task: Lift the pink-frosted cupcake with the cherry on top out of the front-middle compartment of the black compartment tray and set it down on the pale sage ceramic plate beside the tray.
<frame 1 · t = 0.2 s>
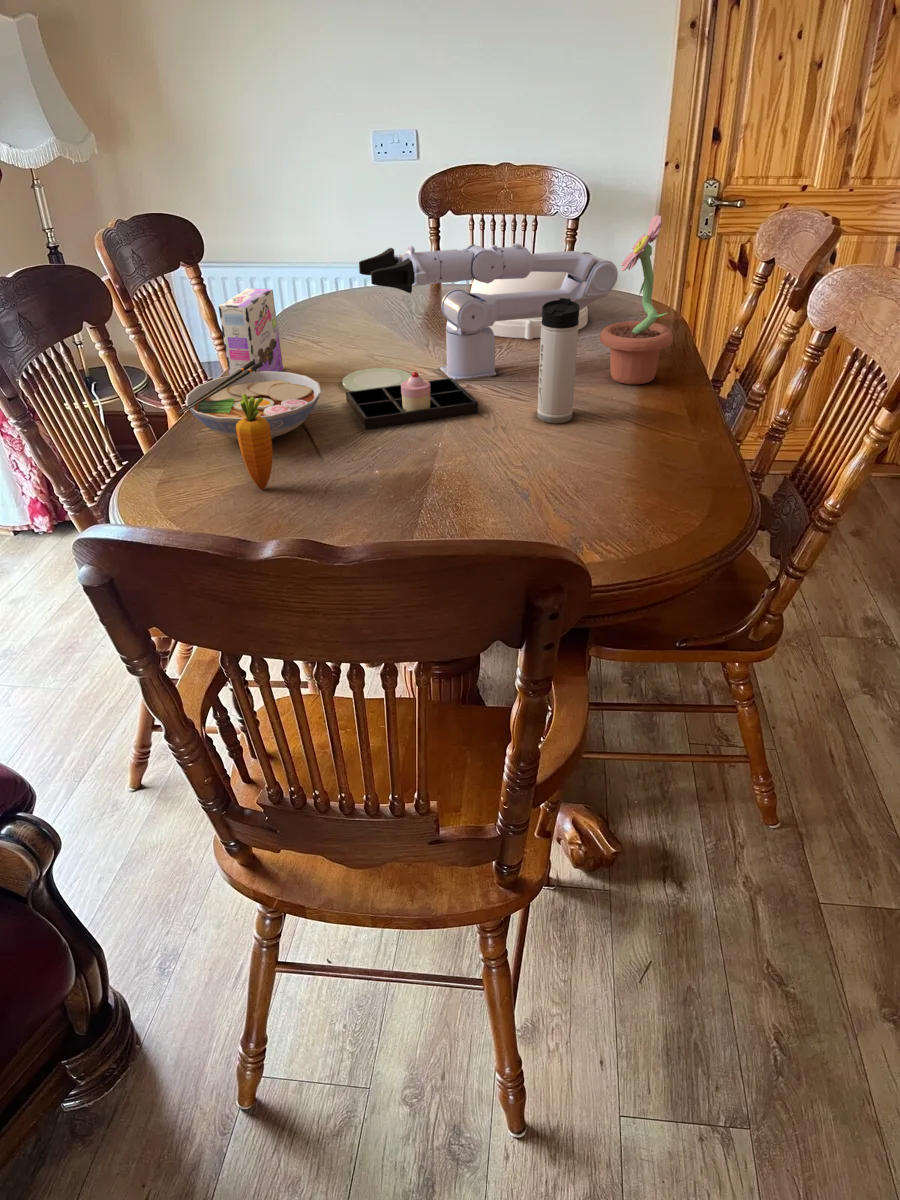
hand: (365, 272, 153), 21 cm above the table, tool horizontal, fingers open, 7 cm apart
decorative flower: (631, 378, 167), on the table
travel mug: (554, 418, 151), on the table
cupcake: (416, 414, 152), resting on black compartment tray
ramen bowl: (260, 434, 147), on the table
plate: (377, 383, 167), on the table
black compartment tray: (411, 409, 155), on the table
dome cover: (524, 320, 202), on the table
carrot: (262, 490, 129), on the table
candy box: (258, 381, 170), on the table
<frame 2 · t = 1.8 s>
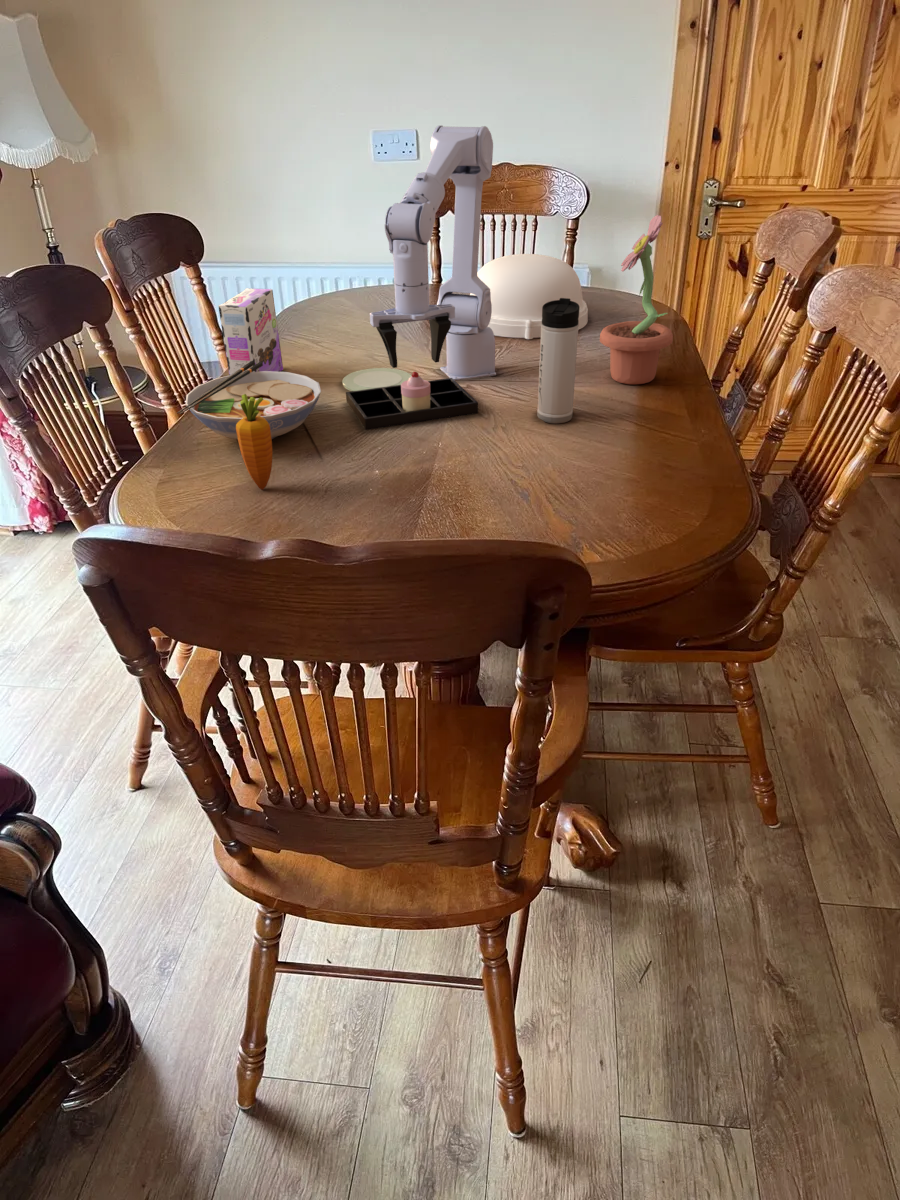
hand: (414, 363, 147), 10 cm above the table, tool pointing down, fingers open, 7 cm apart
nothing on the table moved.
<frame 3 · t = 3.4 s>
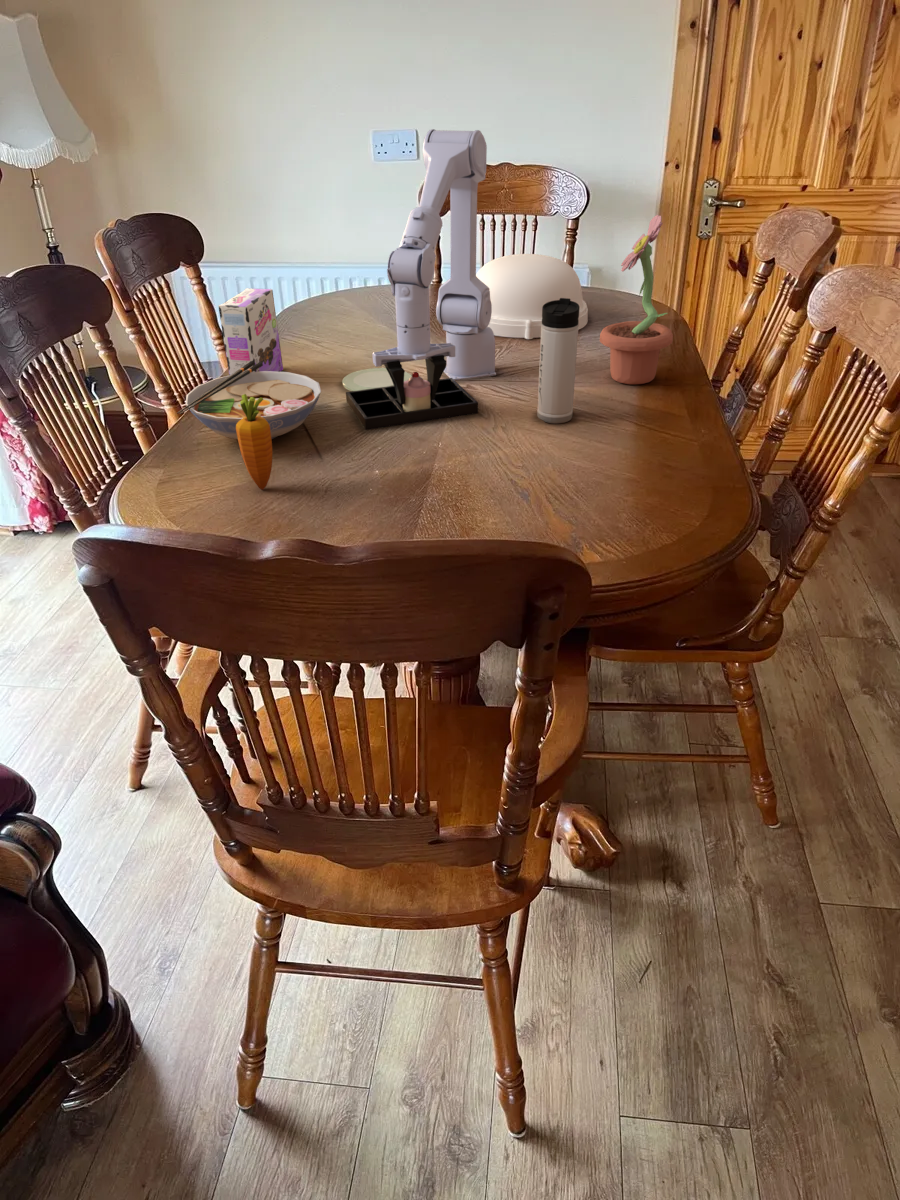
hand: (416, 400, 150), 3 cm above the table, tool pointing down, fingers closed on cupcake, 5 cm apart
cupcake: (416, 414, 152), resting on black compartment tray, touching gripper
everything else where it was.
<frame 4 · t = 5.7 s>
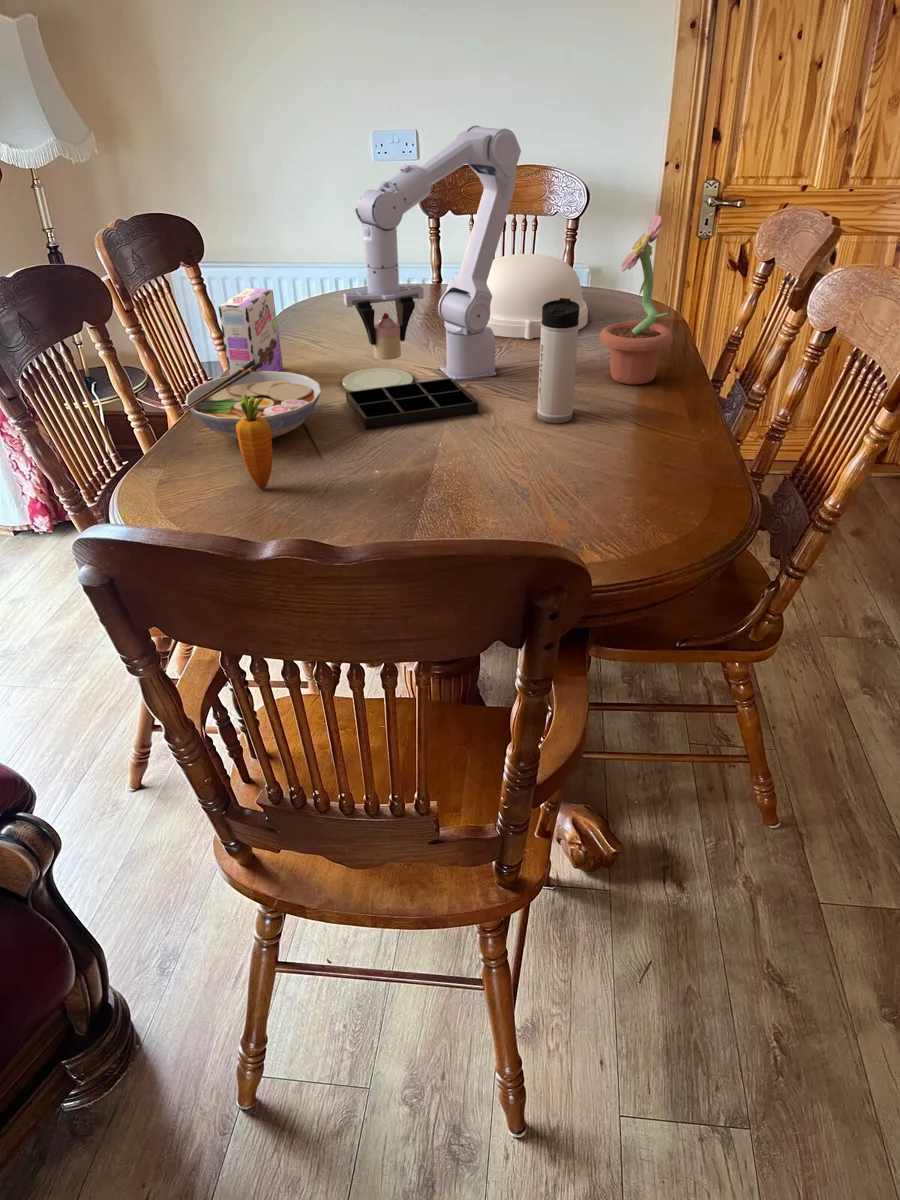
hand: (386, 341, 157), 10 cm above the table, tool pointing down, fingers closed on cupcake, 5 cm apart
cupcake: (387, 355, 158), point 7 cm above the table, touching gripper
everything else where it was.
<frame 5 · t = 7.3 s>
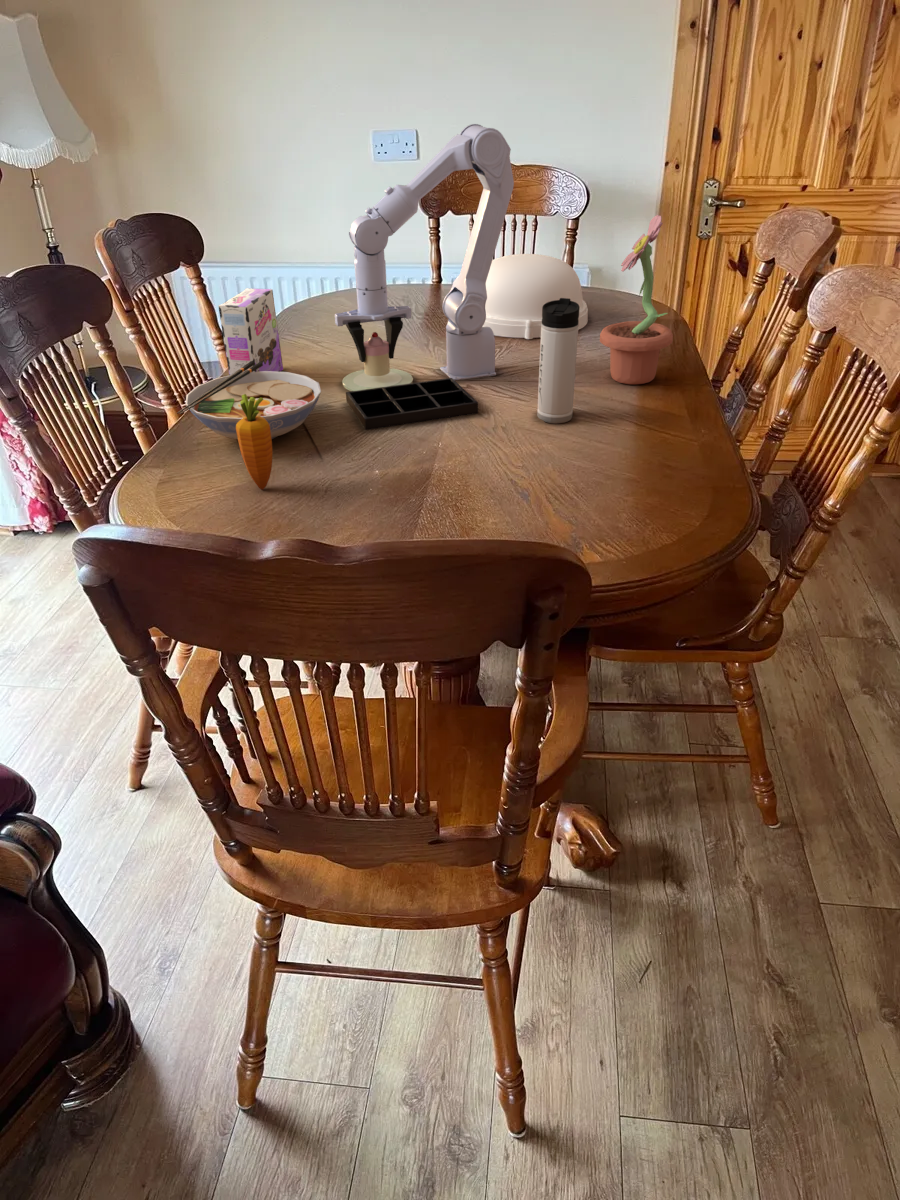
hand: (376, 358, 164), 5 cm above the table, tool pointing down, fingers closed on cupcake, 5 cm apart
cupcake: (377, 371, 166), point 2 cm above the table, touching gripper
everything else where it was.
when the fingers open (3 cm above the table, at t = 8.3 s): cupcake stays where it is, resting on plate.
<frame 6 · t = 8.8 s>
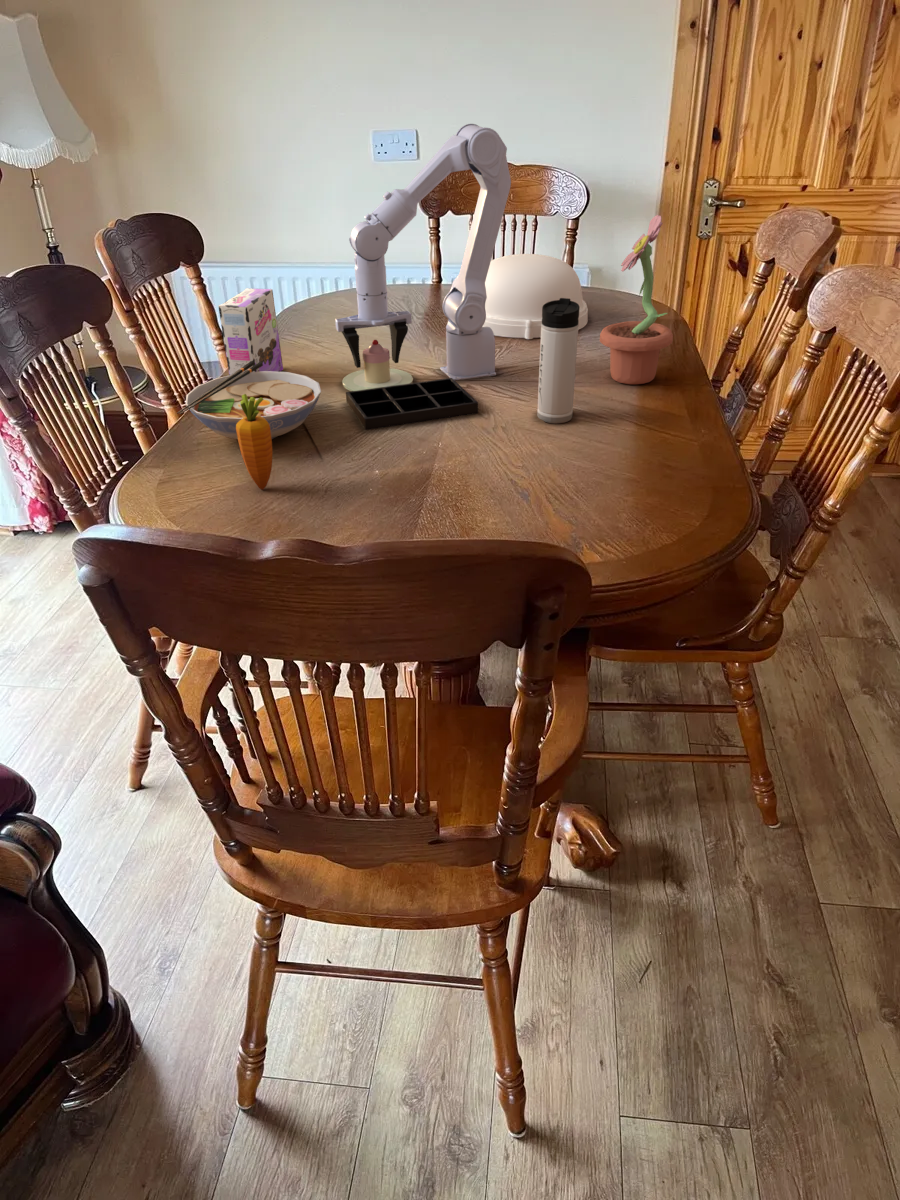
hand: (376, 363, 165), 4 cm above the table, tool pointing down, fingers open, 7 cm apart
cupcake: (377, 379, 166), point 1 cm above the table, touching plate
everything else where it was.
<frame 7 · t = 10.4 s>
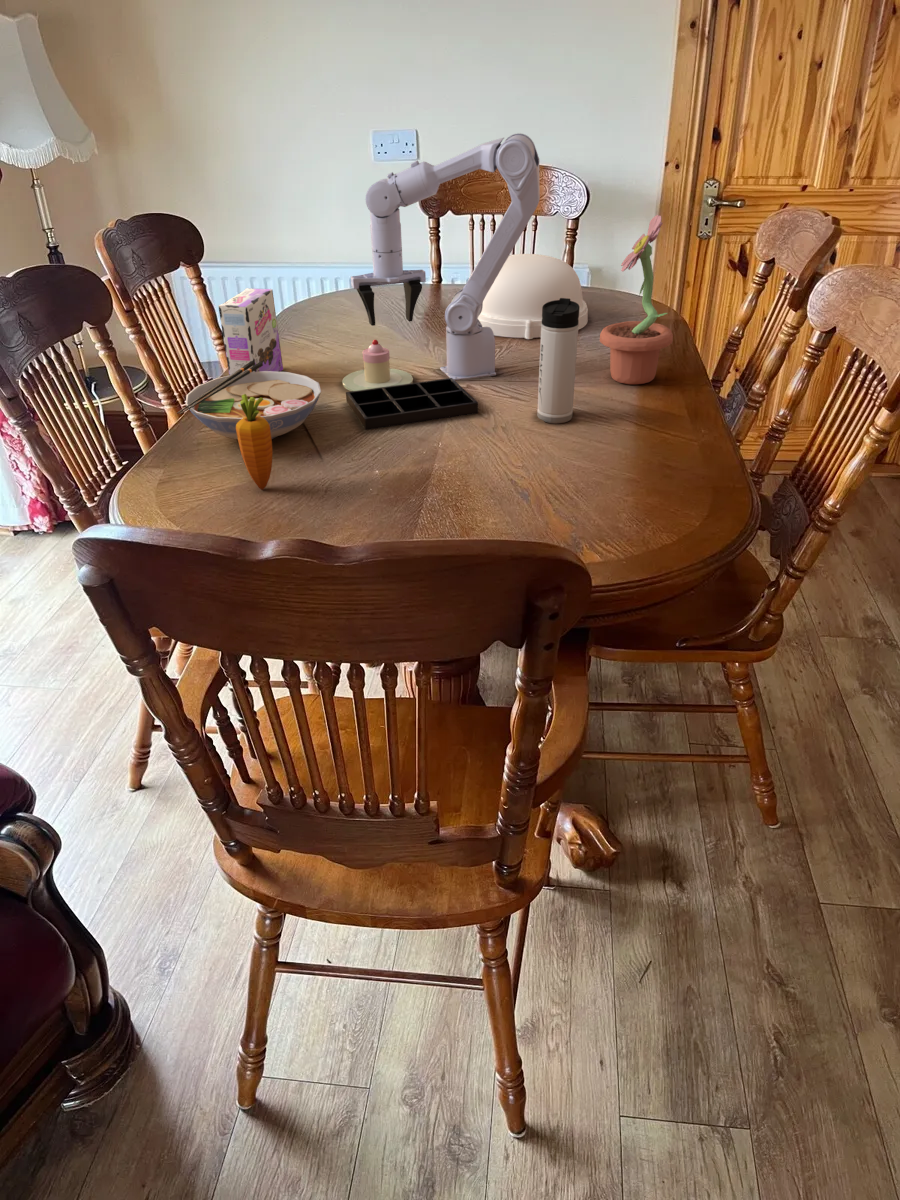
hand: (390, 322, 167), 10 cm above the table, tool pointing down, fingers open, 7 cm apart
nothing on the table moved.
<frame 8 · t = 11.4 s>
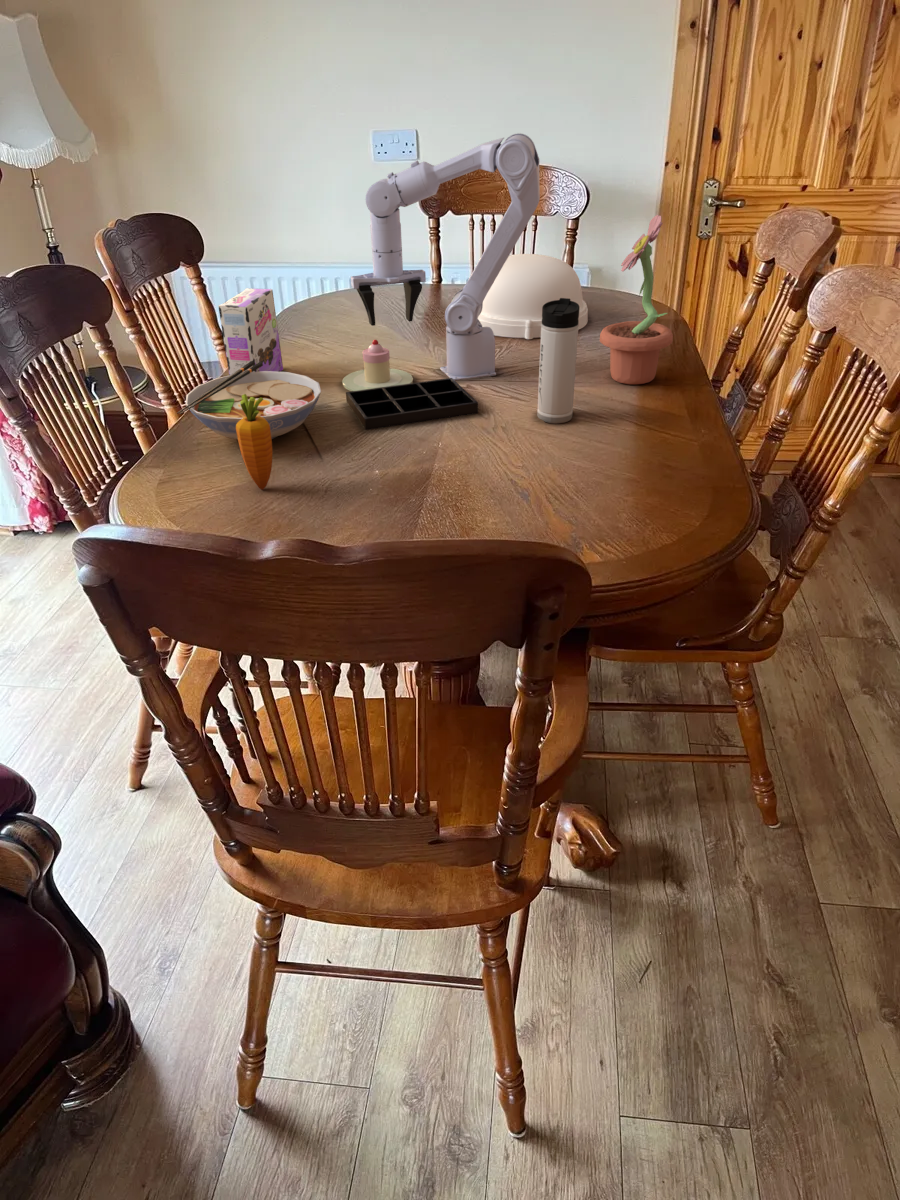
hand: (390, 322, 167), 10 cm above the table, tool pointing down, fingers open, 7 cm apart
nothing on the table moved.
at the end: cupcake inside the target area on the plate (0.0 cm from its centre), point 0.9 cm above the plate's base; cupcake tilted 0°; the gripper is holding nothing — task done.
